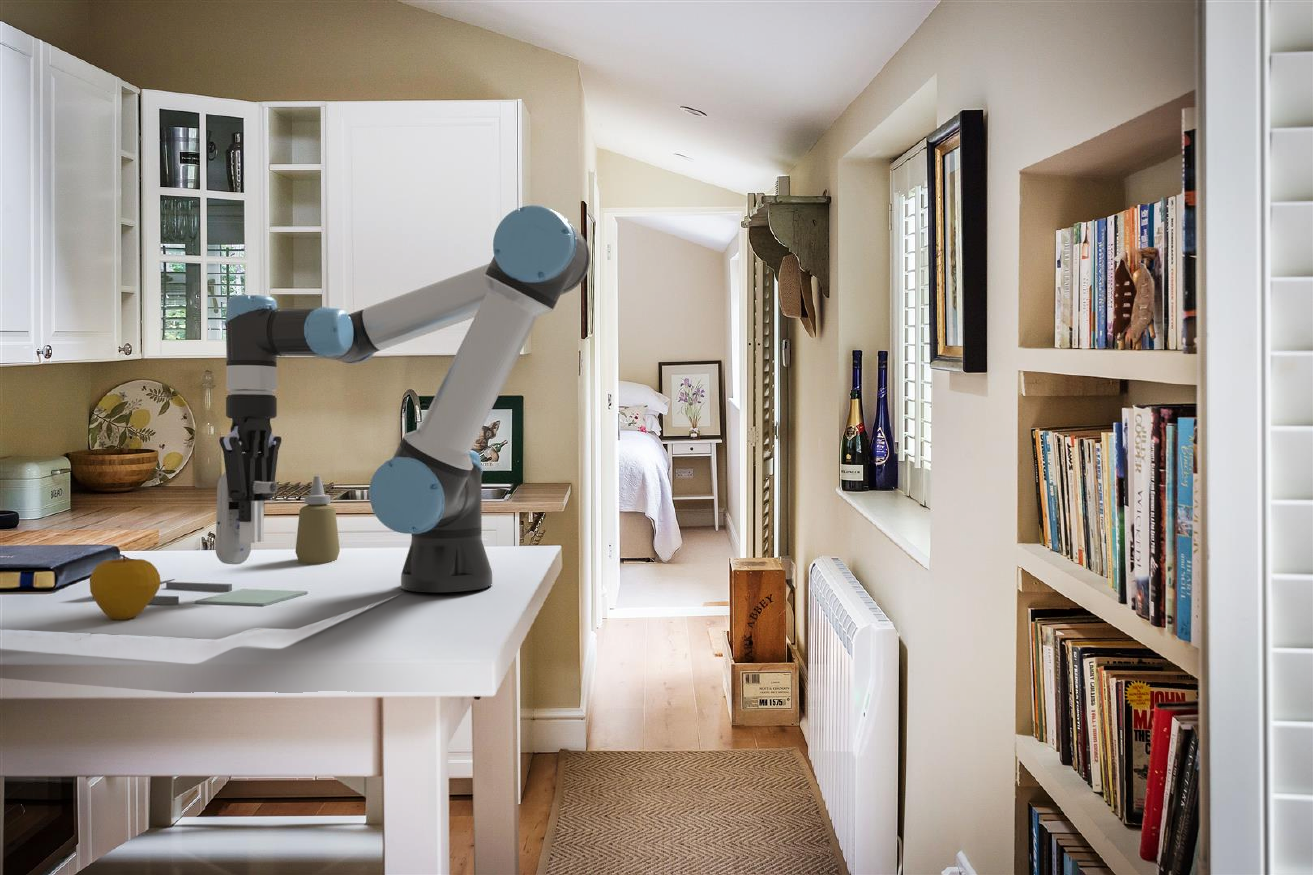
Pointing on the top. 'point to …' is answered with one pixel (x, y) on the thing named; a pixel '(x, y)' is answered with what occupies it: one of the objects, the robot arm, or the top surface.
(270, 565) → the top surface
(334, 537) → the squeeze bottle
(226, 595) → the mat
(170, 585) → the dock
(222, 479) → the electronic device
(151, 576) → the apple
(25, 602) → the top surface
